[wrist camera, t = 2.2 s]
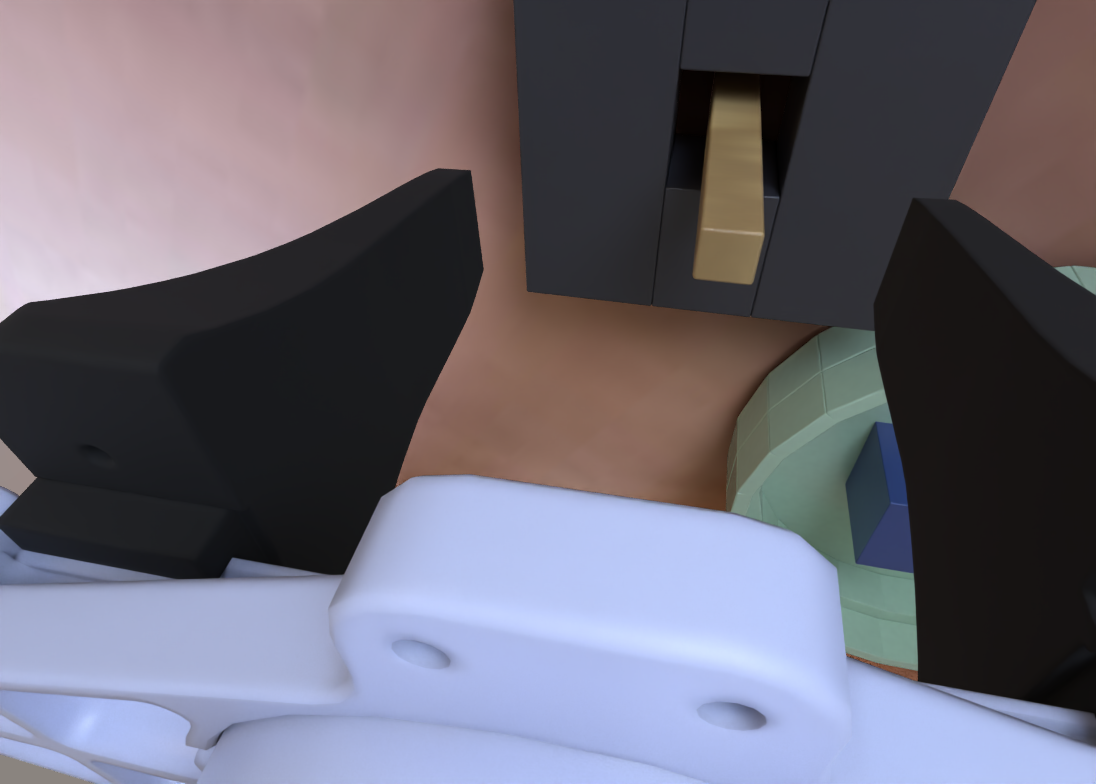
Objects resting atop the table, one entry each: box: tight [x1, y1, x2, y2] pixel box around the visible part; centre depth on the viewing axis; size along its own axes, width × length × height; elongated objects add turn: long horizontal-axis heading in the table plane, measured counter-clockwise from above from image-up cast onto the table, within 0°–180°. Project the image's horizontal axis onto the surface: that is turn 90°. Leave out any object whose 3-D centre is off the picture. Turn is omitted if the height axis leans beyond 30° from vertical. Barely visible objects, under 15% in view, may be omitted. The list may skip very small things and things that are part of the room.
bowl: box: [726, 265, 1096, 671], centre depth 25 cm, size 19×19×4 cm
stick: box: [692, 72, 765, 285], centre depth 16 cm, size 1×1×9 cm
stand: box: [513, 0, 1036, 331], centre depth 18 cm, size 11×11×4 cm
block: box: [845, 421, 914, 574], centre depth 26 cm, size 4×4×4 cm
